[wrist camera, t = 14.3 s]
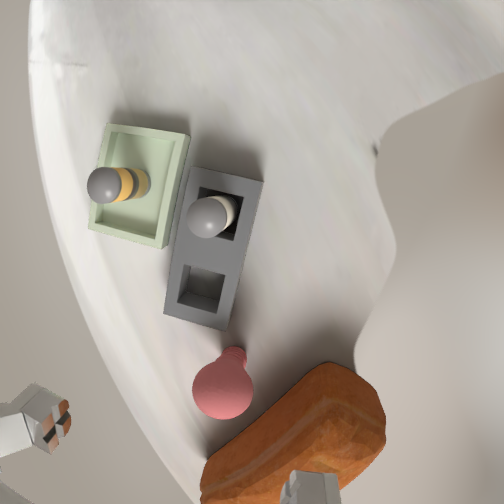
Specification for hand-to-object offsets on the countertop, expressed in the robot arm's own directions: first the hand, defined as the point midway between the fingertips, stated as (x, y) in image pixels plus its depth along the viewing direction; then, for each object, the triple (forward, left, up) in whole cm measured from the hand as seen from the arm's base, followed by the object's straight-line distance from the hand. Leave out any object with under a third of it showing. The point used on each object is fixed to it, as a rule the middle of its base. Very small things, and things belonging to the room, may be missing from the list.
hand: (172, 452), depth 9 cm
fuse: (-4, -4, -31) cm, 32 cm away
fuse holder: (0, -4, -31) cm, 31 cm away
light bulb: (+15, +1, -31) cm, 35 cm away
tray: (-5, -16, -31) cm, 35 cm away
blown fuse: (-5, -16, -30) cm, 35 cm away
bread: (+29, +13, -32) cm, 45 cm away
